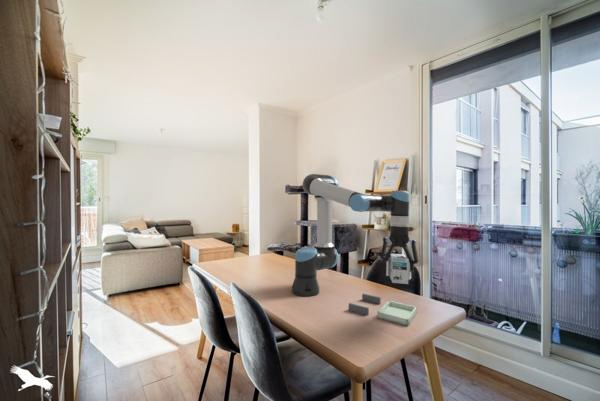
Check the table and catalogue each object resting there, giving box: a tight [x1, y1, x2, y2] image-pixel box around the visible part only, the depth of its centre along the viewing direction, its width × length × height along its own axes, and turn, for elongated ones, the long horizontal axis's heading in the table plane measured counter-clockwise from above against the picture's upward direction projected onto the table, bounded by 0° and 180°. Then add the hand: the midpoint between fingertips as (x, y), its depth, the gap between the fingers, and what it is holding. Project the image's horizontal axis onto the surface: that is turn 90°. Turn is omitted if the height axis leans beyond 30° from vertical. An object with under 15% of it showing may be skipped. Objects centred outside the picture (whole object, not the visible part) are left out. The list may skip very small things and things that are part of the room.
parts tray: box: [376, 300, 418, 327], centre depth 118 cm, size 13×17×2 cm
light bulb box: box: [389, 252, 410, 285], centre depth 118 cm, size 11×7×11 cm, turn 168°
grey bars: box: [348, 293, 382, 316], centre depth 127 cm, size 9×17×3 cm, turn 145°
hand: (398, 277), depth 118 cm, fingers closed on light bulb box, 8 cm apart
